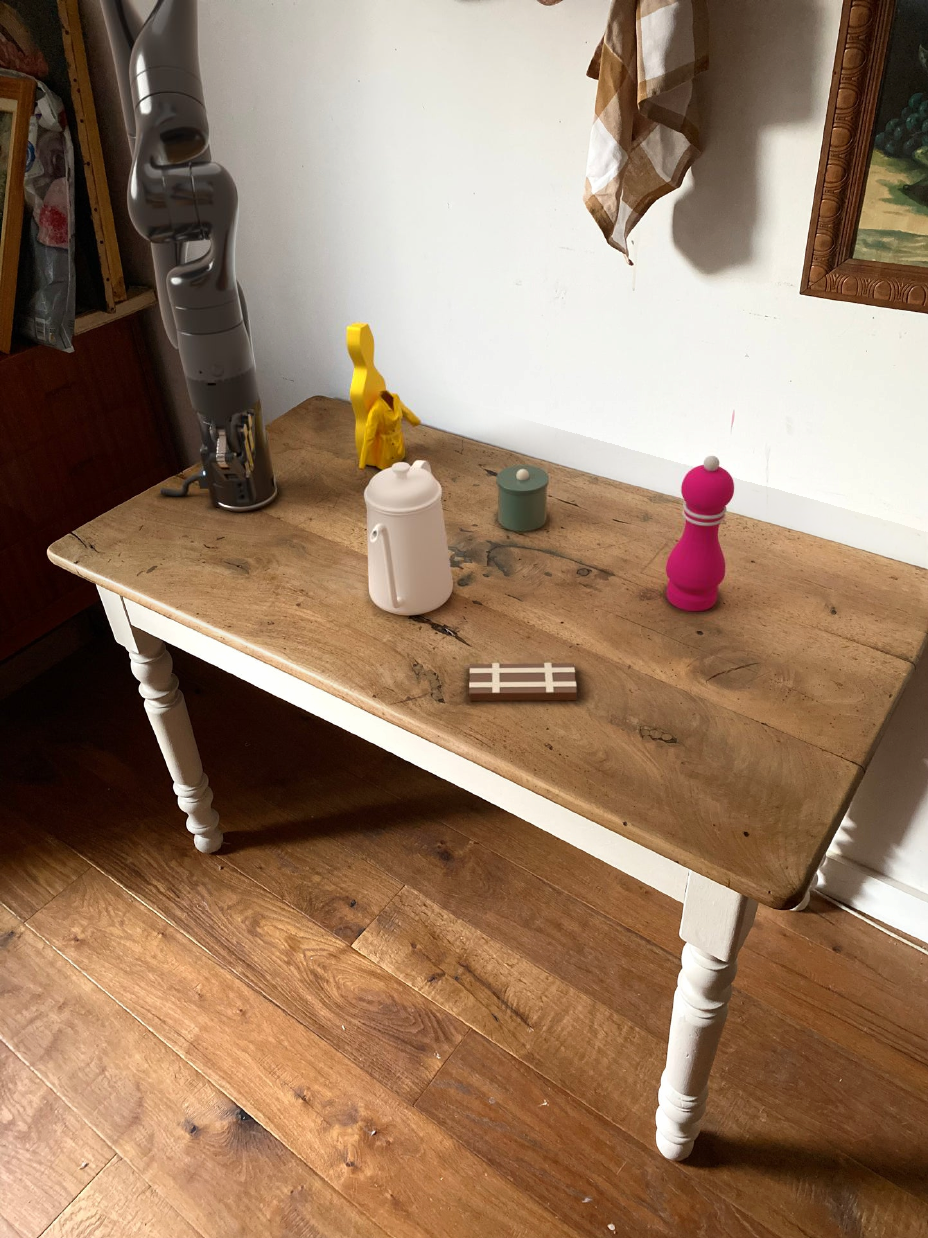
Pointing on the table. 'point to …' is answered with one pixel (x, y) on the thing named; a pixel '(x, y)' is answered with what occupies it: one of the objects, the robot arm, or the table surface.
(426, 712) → the table surface
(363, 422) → the figure statuette
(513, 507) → the canister
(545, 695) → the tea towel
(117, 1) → the robot arm
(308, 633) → the table surface
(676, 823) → the table surface
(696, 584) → the pepper mill
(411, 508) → the coffeepot
